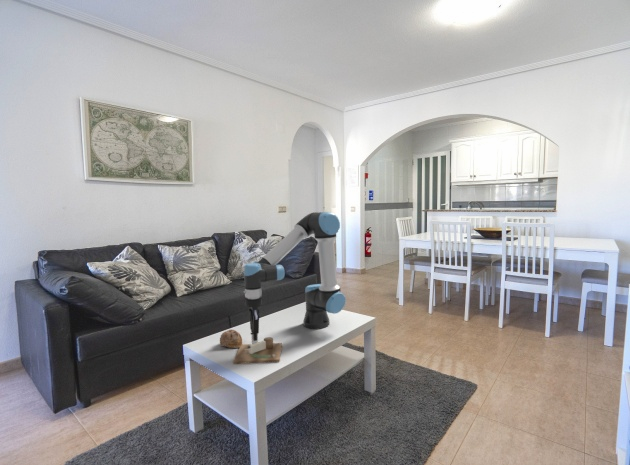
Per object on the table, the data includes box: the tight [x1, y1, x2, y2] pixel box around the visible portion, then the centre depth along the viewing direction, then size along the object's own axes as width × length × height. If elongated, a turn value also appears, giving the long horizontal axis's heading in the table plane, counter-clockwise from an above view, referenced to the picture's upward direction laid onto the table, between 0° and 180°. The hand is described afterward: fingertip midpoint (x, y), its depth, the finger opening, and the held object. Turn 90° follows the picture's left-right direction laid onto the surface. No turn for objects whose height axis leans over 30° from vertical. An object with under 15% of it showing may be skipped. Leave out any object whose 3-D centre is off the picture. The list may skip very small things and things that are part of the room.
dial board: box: [232, 342, 283, 365], centre depth 153 cm, size 20×18×1 cm
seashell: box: [219, 329, 244, 348], centre depth 165 cm, size 10×9×10 cm
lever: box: [248, 336, 274, 354], centre depth 154 cm, size 13×4×4 cm, turn 132°
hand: (255, 346), depth 154 cm, fingers closed
